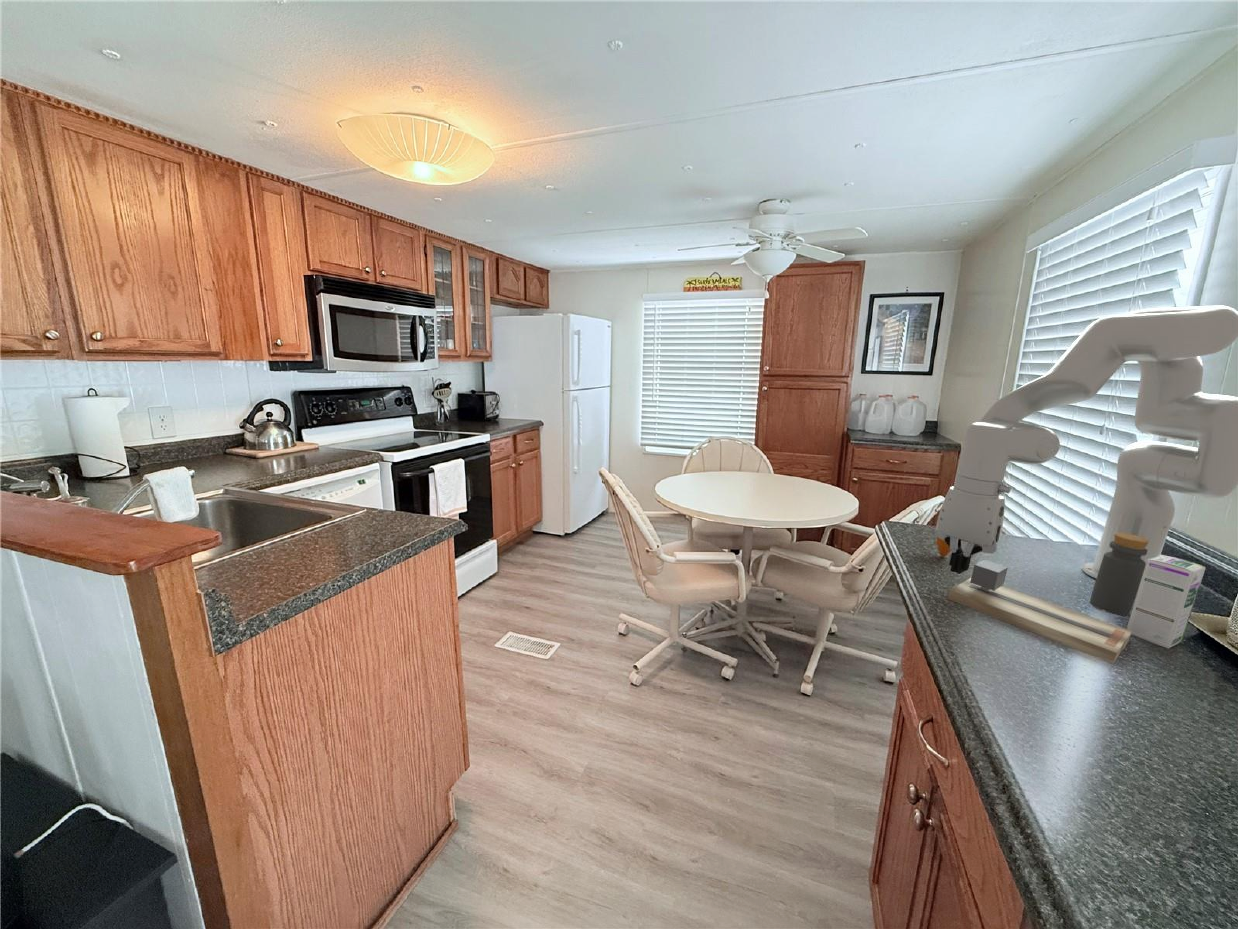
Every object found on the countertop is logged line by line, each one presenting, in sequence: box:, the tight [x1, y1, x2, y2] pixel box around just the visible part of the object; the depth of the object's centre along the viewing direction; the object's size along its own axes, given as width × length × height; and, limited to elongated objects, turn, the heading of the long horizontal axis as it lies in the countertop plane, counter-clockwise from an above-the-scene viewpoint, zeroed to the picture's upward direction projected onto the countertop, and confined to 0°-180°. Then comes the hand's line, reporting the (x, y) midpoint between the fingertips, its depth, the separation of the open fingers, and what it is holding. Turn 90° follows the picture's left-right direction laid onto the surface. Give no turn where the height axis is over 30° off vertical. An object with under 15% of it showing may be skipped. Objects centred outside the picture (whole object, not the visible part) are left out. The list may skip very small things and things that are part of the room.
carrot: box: [936, 537, 951, 558], centre depth 117 cm, size 5×5×15 cm
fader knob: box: [970, 559, 1009, 591], centre depth 97 cm, size 5×4×5 cm
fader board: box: [947, 577, 1132, 665], centre depth 91 cm, size 12×24×2 cm, turn 35°
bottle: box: [1089, 533, 1149, 616], centre depth 96 cm, size 6×6×15 cm
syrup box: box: [1126, 553, 1206, 649], centre depth 86 cm, size 6×6×14 cm
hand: (957, 571), depth 101 cm, fingers closed
